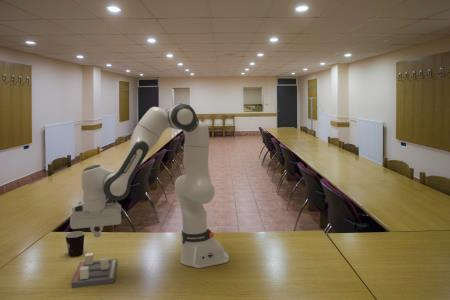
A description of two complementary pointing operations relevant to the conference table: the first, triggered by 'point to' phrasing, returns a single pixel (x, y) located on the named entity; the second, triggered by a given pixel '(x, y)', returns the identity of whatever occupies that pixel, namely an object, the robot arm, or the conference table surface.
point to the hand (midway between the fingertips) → (97, 236)
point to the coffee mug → (75, 243)
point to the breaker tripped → (104, 263)
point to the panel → (96, 274)
